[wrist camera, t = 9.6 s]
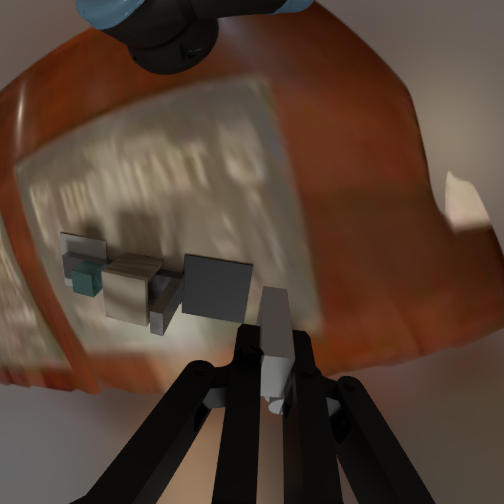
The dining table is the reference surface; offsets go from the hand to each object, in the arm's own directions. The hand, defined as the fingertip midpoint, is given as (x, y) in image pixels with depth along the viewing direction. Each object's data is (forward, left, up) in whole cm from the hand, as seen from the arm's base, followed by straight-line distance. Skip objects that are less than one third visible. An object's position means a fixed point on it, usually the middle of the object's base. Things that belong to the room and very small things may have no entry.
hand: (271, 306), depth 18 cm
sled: (+16, -26, -29) cm, 42 cm away
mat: (+16, -35, -29) cm, 48 cm away
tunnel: (+16, -21, -29) cm, 40 cm away
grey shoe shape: (+16, -7, -29) cm, 34 cm away
